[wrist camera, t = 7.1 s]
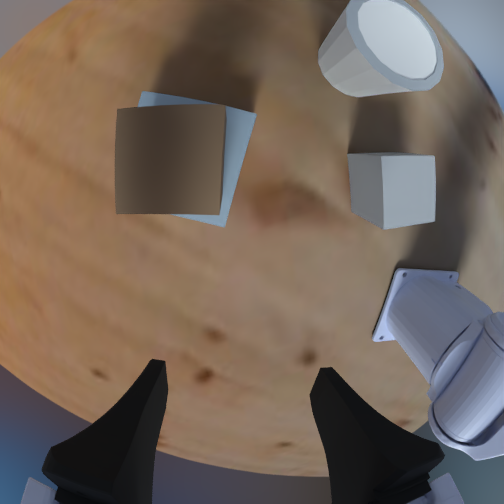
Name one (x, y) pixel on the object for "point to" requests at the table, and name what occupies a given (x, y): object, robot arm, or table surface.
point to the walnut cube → (170, 159)
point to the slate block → (235, 148)
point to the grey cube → (393, 188)
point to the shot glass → (381, 50)
